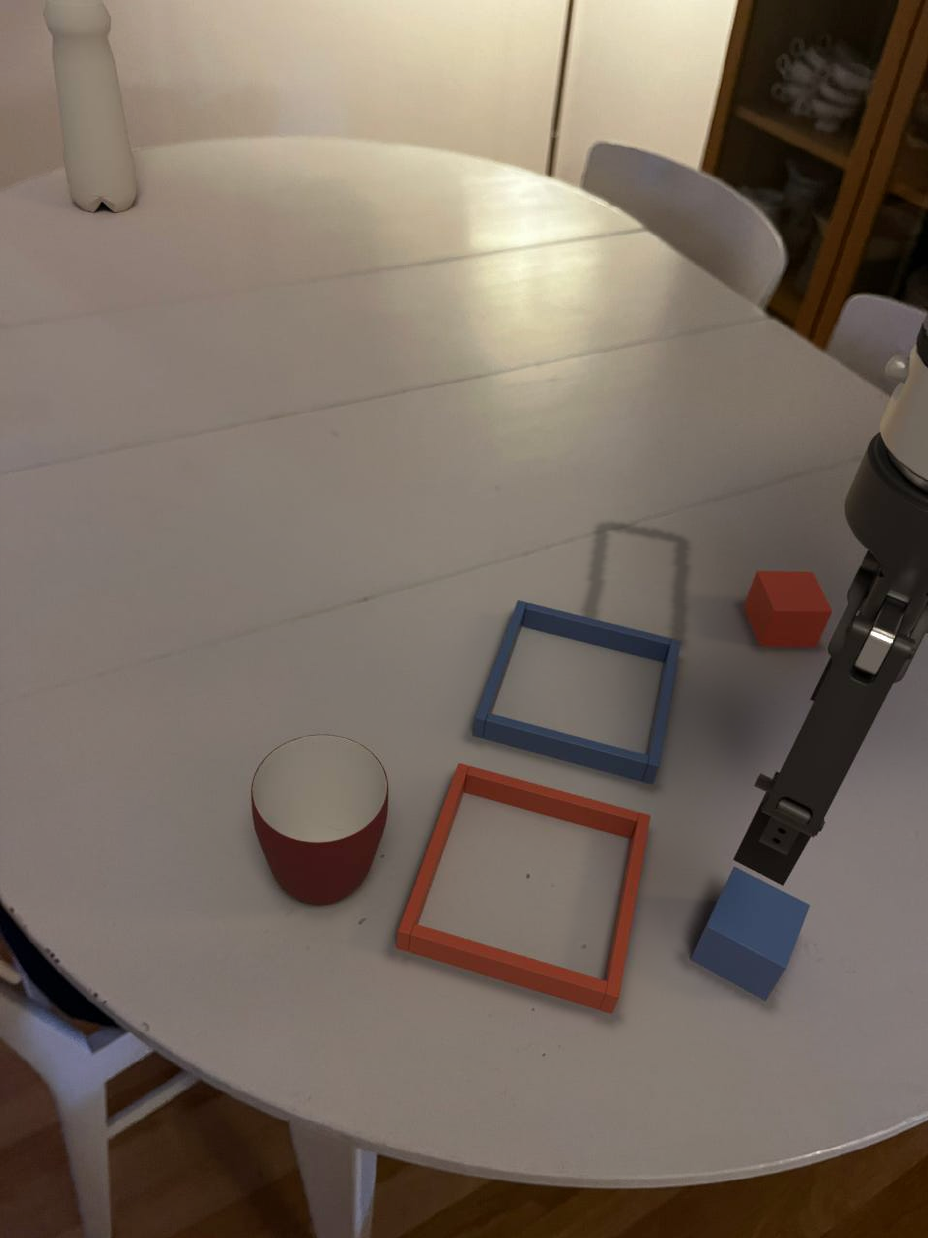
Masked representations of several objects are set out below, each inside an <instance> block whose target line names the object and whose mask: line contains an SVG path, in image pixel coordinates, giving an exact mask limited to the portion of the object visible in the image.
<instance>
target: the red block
mask: <svg viewBox="0 0 928 1238" xmlns="http://www.w3.org/2000/svg"><path fill="white" fill-rule="evenodd" d="M743 609H744V611H745V613H746V616H747V619H748V620H749V624H750V626H751V629H752V631H753V634H754V636H755V638H756V641H757V643H758V645H759V647H762V648H766V647H767V648H768V647H769V648H770V647H771V648H775V647H776V648H779V647H783V648H784V647H785V648H817V647H818V645H819V642H820V640H821V638H822V635H823V633H824V631H825V629H826V626H827V624H828V622H829V620H830V618H831V615H832V613H833V610H832V607H831V606H830V603H829V602H828V599H827V597H826V596H825V594H824V591H823V589H822V587H821V585H820V583H819V581H818V579H817V577H816V576H815V573H814V572H813V571H800V570H799V571H797V570H795V571H793V570H792V571H789V570H756V572H755V574H754V578H753V580H752V583H751V585H750V588H749V591H748V594H747V596H746V599H745V602H744V605H743Z"/></svg>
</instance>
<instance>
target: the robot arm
mask: <svg viewBox="0 0 928 1238" xmlns="http://www.w3.org/2000/svg"><path fill="white" fill-rule="evenodd" d="M884 373H885V374H886V376H887V378H888V379H889V378H890V379H891V380H894V381H896V382H899V383H898V384H897V385H896V387H895V389H894V390H893V391H892V394H891V396H890V398H889V401H888V403H887V405H886V407H885V410H884V412H883V415H882V416H881V418H880V424H879V432H877V433H876V434H875V435H874V436H873V437H872V438H871V440H870V441H869V444H868V446H867V448H866V451H865V453H864V455H863V457H862V459H861V462H860V464H859V466H858V468H857V471H856V472H855V476H854V478H853V480H852V482H851V485H850V487H849V489H848V491H847V494H846V497H845V500H844V516H845V519H846V523H847V525H848V527H849V529H850V531H851V533H852V534H853V536H854V538H856V540H857V541H858V542H859V543H860V545H862V547H864V548H865V549H866V550H867V551H866V553H865V555H864V557H863V560H862V561H861V562H862V563H861V564H860V565H859V567H858V569H857V571H856V573H855V576H854V577H853V580H852V582H851V584H850V586H849V588H848V590H847V594H846V601H847V605H846V608H845V610H844V612H843V614H842V617H841V619H840V620H839V622H838V624H837V626H836V628H835V630H834V632H833V634H832V636H831V639H830V641H829V643H828V646H827V653H828V655H829V656H830V657H829V659H828V660H827V661H828V662H827V664H826V666H825V668H824V669H823V672H822V674H821V676H820V678H819V680H818V681H817V684H816V686H815V688H814V690H813V692H812V694H811V696H810V699H809V700H810V701H812V704H811V707H810V708H809V711H808V713H807V715H806V717H805V719H804V721H803V722H802V725H801V727H800V730H799V731H798V733H797V735H796V737H795V739H794V742H793V744H792V746H791V748H790V750H789V752H788V754H787V756H786V758H785V760H784V761H783V764H782V766H781V769H780V771H778V770H776V771H775V772H774V774H773V776H772V778H771V777H770V776H768V775H765V774H764V773H759V775H758V777H757V779H756V780H755V783H754V785H753V786H754V787H755V788H757V789H759V790H761V791H763V792H765V793H764V795H763V798H762V799H761V801H760V803H759V806H758V808H757V810H756V812H755V814H754V816H753V818H752V820H751V822H750V824H749V826H748V828H747V830H746V832H745V834H744V837H743V838H742V840H741V842H740V845H739V846H738V849H737V851H736V852H735V855H734V856H733V859H732V860H733V861H734V862H736V863H738V864H740V865H742V866H744V867H745V868H748V869H750V870H752V871H753V872H755V873H757V874H759V875H761V876H764V877H765V878H767V879H768V880H771V881H773V882H775V883H776V884H778V885H780V886H782V887H784V886H785V884H786V882H787V880H788V879H789V877H790V875H791V873H792V872H793V870H794V868H795V866H796V864H797V863H798V861H799V859H800V857H801V855H802V854H803V852H804V850H805V849H806V847H807V845H808V843H809V842H810V840H811V838H815V837H817V836H818V835H819V832H820V833H821V832H822V830H823V828H824V826H825V824H826V821H825V817H826V815H827V813H828V811H829V810H830V807H831V806H832V803H833V802H834V800H835V798H836V796H837V794H838V792H839V790H840V788H841V786H842V784H843V782H844V780H845V778H846V777H847V774H848V773H849V771H850V768H851V766H852V765H853V763H854V761H855V759H856V757H857V755H858V753H859V751H860V749H861V747H862V745H863V743H864V742H865V740H866V737H867V735H868V733H869V732H870V729H871V728H872V726H873V724H874V722H875V720H876V718H877V716H878V713H879V712H880V710H881V708H882V706H883V704H884V702H885V700H886V698H887V696H888V695H889V692H890V690H891V689H892V687H893V685H894V684H896V683H899V682H901V681H902V680H903V679H904V677H905V675H906V673H907V672H908V669H909V668H910V665H911V663H912V661H913V659H914V657H915V656H916V653H917V651H918V649H919V647H920V645H921V643H922V641H923V638H924V637H925V635H926V634H928V311H927V313H926V315H925V318H924V319H923V322H922V324H921V325H920V329H919V331H918V334H917V335H916V341H915V343H914V345H913V347H912V349H911V351H910V354H909V356H905V355H900V354H896V355H894V356H892V357H890V358H889V360H888V362H887V363H886V366H885V368H884Z"/></svg>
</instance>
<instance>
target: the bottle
mask: <svg viewBox="0 0 928 1238" xmlns="http://www.w3.org/2000/svg"><path fill="white" fill-rule="evenodd" d="M42 17H43V19H44V22H45V24H46V28H47V30H48V31H49V33H50V35H51V36H52V52H51V53H52V55H51V57H52V65H53V72H54V79H55V89H56V97H57V105H58V111H59V120H60V126H61V127H60V128H61V136H62V143H63V152H62V159H63V165H64V169H65V175H66V180H67V184H68V188H69V195H70V197H71V198H72V200H73V201H74V202H75V203H76V204H77V205H78V207H79V208H81V209H82V210H84V211H85V212H90V213H94V212H95V211H97V210H98V209H99V208H100V205H102V204H101V203H103V204H104V205H106V207H107V208H109V209H110V210H111V211H112V212H113V213H120V212H125V211H127V210H128V209H130V208H131V207H132V205H133V203H134V201H135V199H136V195H137V187H138V186H137V185H138V180H137V170H136V161H135V157H134V155H133V154H134V153H133V151H132V148H131V144H130V138H129V133H128V127H127V122H126V121H127V120H126V115H125V111H124V104H123V99H122V94H121V92H122V91H121V87H120V82H119V75H118V70H117V64H116V58H115V55H114V53H113V50H112V49H113V48H112V46H111V43H110V40H109V34H110V33H111V29H112V16H111V15H110V13H109V11H108V9H107V7H106V5H105V3H104V1H103V0H46V1H45V5H44V9H43V11H42Z"/></svg>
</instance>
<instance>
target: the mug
mask: <svg viewBox="0 0 928 1238" xmlns="http://www.w3.org/2000/svg"><path fill="white" fill-rule="evenodd" d="M250 794H251V796H250V798H251V799H250V800H251V817H252V822H253V828H254V831H255V834H256V837H257V840H258V842H259V845H260V848H261V850H262V853H263V855H264V857H265V860H266V862H267V865H268V867H269V869H270V872H271V874H272V876H273V877H274V879H275V881H276V882H277V884H278V885H279V886H280V887H281V889H282V890H283V891H285V892H286V893H287V894H288V895H290V896H291V897H292V898H294V899H296V900H298V901H300V902H302V903H304V904H307V905H310V906H311V905H312V906H328V905H332V904H336V903H338V902H340V901H341V900H344V899H345V898H347V897H348V896H350V895H351V894H352V893H354V892H355V891H356V890H357V889H358V888H359V887H360V886H361V885H362V883H363V882H364V881H365V879H366V878H367V876H368V874H369V872H370V870H371V868H372V865H373V863H374V860H375V857H376V855H377V852H378V849H379V846H380V843H381V842H382V837H383V835H384V832H385V829H386V828H385V827H386V824H387V819H388V812H389V811H388V810H389V781H388V776H387V772H386V770H385V768H384V766H383V764H382V763H381V761H380V760H379V758H378V757H377V756H376V755H375V754H374V752H372V751H371V750H370V749H368V748H367V747H366V746H364V745H363V744H361V743H359V742H357V741H355V740H353V739H351V738H347V737H343V736H340V735H335V734H311V735H305V736H300V737H297V738H294V739H291V740H289V741H287V742H284V743H283V744H280V745H279V746H278V747H276V748H274V749H273V750H272V751H271V752H270V753H268V754H267V755H266V756H265V758H264V759H262V761H261V762H260V764H259V765H258V766H257V768H256V770H255V772H254V775H253V778H252V783H251V789H250Z"/></svg>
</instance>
